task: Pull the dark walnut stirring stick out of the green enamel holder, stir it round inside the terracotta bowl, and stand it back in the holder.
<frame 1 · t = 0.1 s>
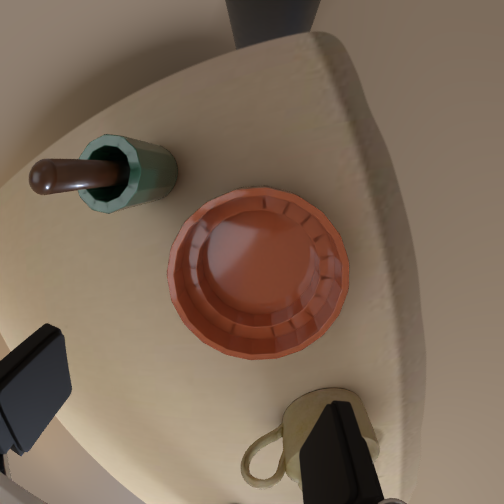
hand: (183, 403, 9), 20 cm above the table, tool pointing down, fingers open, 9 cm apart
stick holder: (151, 172, 26), on the table
sugar bowl: (309, 420, 34), on the table
mixing bowl: (258, 261, 28), on the table
stirring stick: (149, 172, 26), point 1 cm above the table, touching stick holder
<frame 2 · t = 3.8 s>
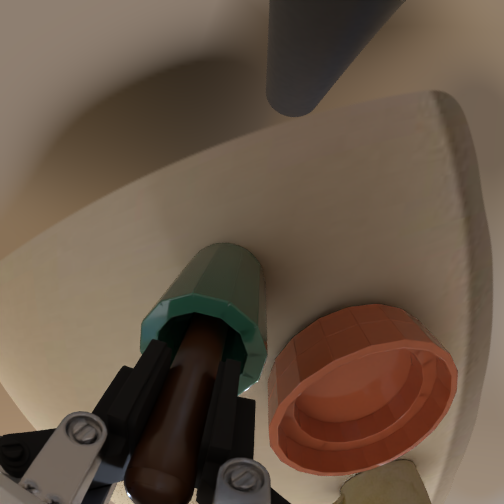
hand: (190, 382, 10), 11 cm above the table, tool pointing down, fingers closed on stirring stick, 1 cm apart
stick holder: (225, 280, 20), on the table
sugar bowl: (365, 485, 28), on the table
mixing bowl: (352, 375, 22), on the table
stirring stick: (224, 283, 20), point 1 cm above the table, touching gripper
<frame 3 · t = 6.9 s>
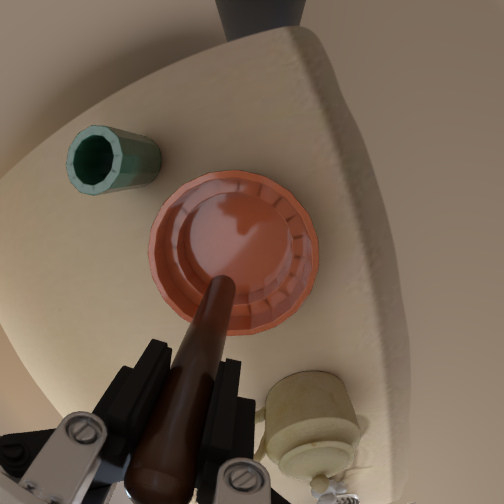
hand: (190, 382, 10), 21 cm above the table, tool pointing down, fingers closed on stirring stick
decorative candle: (339, 500, 44), on the table
grey figurine: (327, 479, 41), on the table
stick holder: (137, 161, 28), on the table
sugar bowl: (293, 404, 35), on the table
mixing bowl: (237, 242, 29), on the table
stirring stick: (223, 283, 20), point 10 cm above the table, touching gripper
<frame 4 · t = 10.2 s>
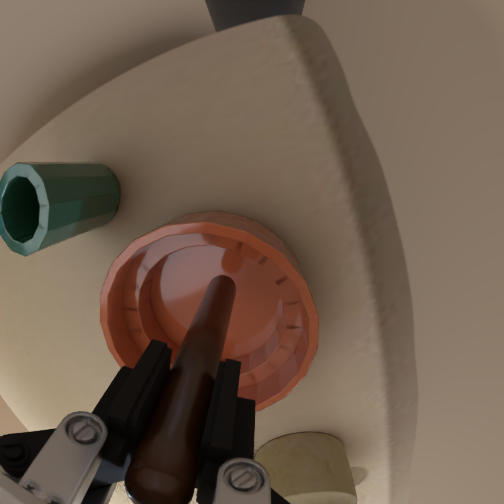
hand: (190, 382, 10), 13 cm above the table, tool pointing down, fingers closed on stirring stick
stick holder: (93, 195, 21), on the table
sugar bowl: (285, 460, 29), on the table
mixing bowl: (215, 300, 23), on the table
stirring stick: (224, 283, 20), point 3 cm above the table, touching gripper
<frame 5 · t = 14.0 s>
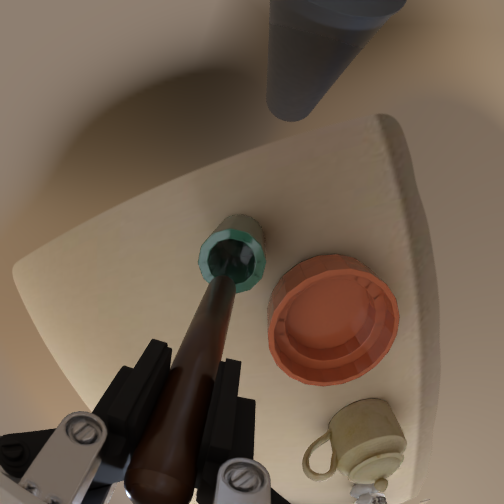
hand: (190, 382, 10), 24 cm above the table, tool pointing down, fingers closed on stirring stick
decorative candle: (368, 499, 49), on the table
grey figurine: (362, 482, 46), on the table
stick holder: (239, 238, 32), on the table
sugar bowl: (349, 424, 40), on the table
mixing bowl: (326, 309, 34), on the table
stirring stick: (223, 284, 20), point 13 cm above the table, touching gripper
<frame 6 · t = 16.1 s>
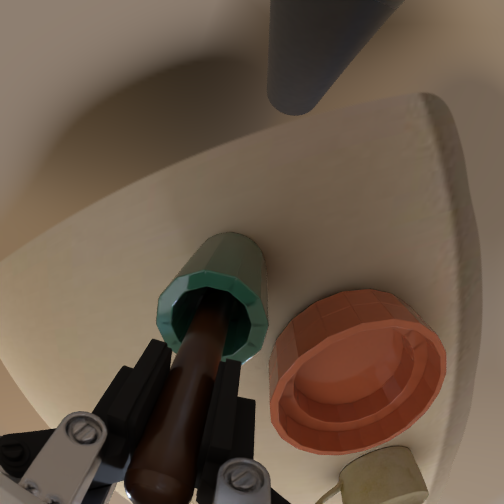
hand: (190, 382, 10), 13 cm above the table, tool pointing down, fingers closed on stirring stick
stick holder: (229, 267, 22), on the table
sugar bowl: (363, 471, 30), on the table
mixing bowl: (347, 358, 24), on the table
stirring stick: (223, 284, 20), point 3 cm above the table, touching gripper
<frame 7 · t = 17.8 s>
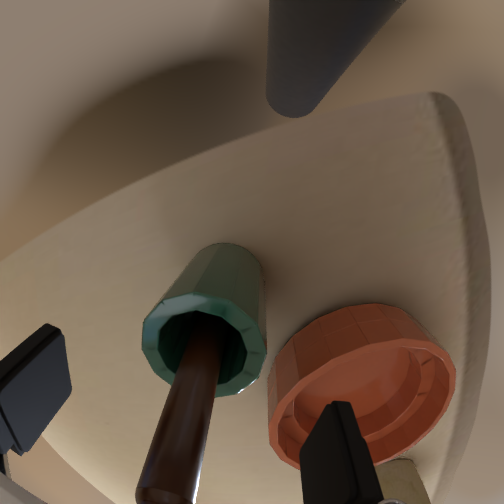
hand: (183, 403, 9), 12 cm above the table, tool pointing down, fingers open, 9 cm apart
stick holder: (225, 280, 20), on the table
sugar bowl: (364, 484, 28), on the table
mixing bowl: (351, 374, 22), on the table
stirring stick: (223, 286, 20), point 1 cm above the table, tilted 5°, touching stick holder
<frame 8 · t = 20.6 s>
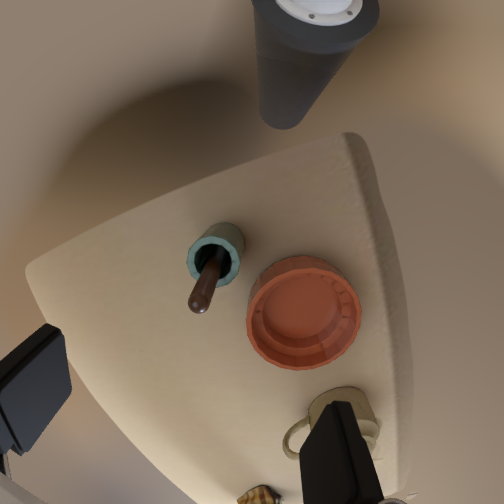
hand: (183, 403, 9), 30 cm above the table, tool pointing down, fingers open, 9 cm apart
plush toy: (264, 496, 55), on the table
stick holder: (224, 242, 38), on the table
sugar bowl: (328, 411, 46), on the table
mixing bowl: (299, 303, 40), on the table
stirring stick: (222, 245, 38), point 1 cm above the table, tilted 5°, touching stick holder
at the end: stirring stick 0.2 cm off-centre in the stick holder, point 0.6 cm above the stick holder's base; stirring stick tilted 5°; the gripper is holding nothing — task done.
